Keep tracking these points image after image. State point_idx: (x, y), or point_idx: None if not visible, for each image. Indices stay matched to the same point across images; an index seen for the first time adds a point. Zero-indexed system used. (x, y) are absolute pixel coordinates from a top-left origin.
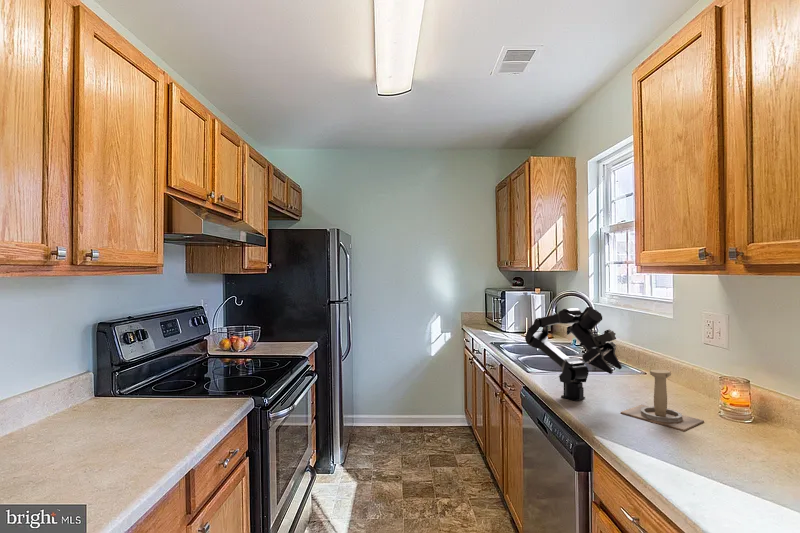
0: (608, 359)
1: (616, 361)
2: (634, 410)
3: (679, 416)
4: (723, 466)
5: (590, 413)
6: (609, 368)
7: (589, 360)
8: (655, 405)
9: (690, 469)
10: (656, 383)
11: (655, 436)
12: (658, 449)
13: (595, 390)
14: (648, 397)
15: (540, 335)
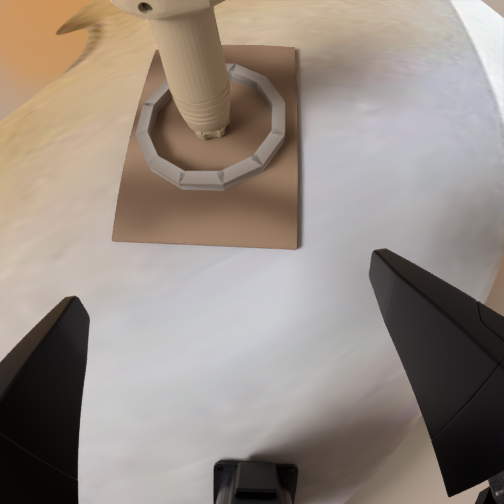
0: (57, 468)
1: (42, 364)
2: (222, 218)
3: None
4: (408, 2)
5: None
6: (423, 272)
7: (489, 495)
8: (227, 108)
9: (465, 35)
10: (213, 28)
11: (404, 87)
12: (457, 74)
13: None
14: (6, 277)
15: None
